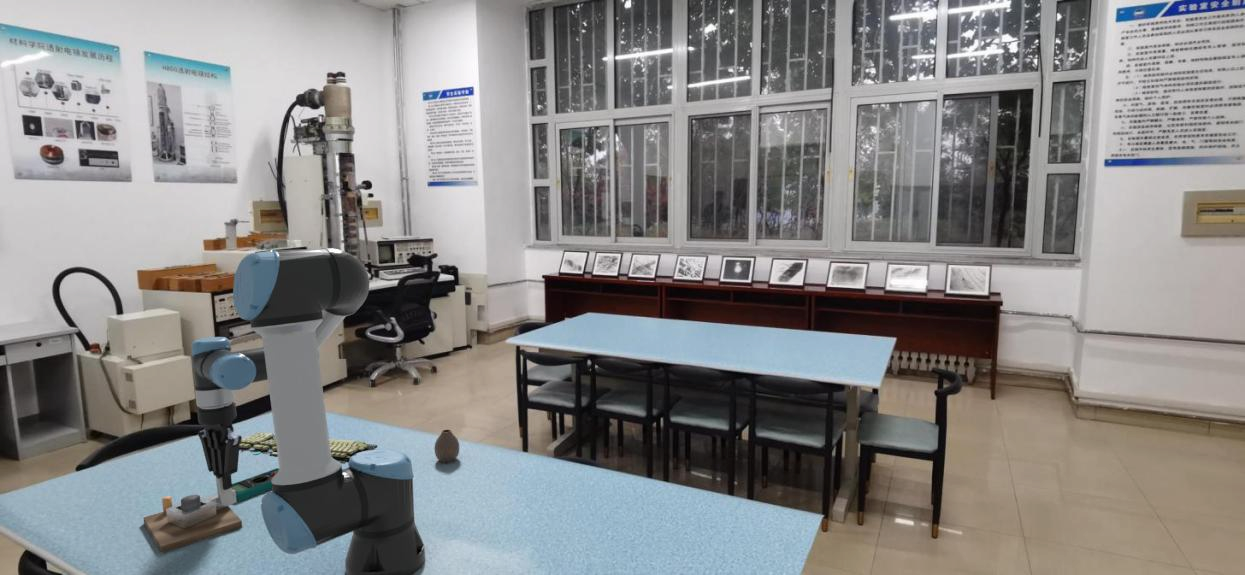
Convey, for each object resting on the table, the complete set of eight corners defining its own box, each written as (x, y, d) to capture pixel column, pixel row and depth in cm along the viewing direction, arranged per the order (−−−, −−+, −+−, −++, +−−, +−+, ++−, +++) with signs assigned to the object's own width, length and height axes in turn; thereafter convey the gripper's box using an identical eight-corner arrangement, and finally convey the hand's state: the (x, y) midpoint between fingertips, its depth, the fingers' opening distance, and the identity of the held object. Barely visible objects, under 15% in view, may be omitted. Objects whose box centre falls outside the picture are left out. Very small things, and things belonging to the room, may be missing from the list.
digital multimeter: (295, 482, 167) (295, 471, 166) (237, 504, 154) (236, 492, 154) (280, 476, 170) (279, 465, 170) (222, 497, 158) (221, 486, 158)
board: (242, 526, 142) (239, 499, 141) (161, 553, 131) (158, 524, 131) (219, 501, 154) (217, 476, 154) (144, 523, 144) (141, 496, 143)
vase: (433, 457, 182) (432, 428, 181) (457, 453, 185) (456, 425, 184) (436, 466, 176) (435, 436, 174) (461, 462, 178) (460, 432, 177)
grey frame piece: (185, 528, 138) (183, 515, 138) (167, 521, 141) (166, 509, 141) (242, 504, 150) (241, 492, 149) (224, 498, 153) (223, 486, 152)
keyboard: (378, 449, 190) (378, 441, 190) (346, 469, 176) (345, 460, 176) (255, 435, 201) (254, 428, 201) (215, 453, 187) (215, 445, 186)
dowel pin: (173, 512, 146) (172, 497, 146) (164, 514, 145) (163, 500, 144) (171, 509, 147) (170, 495, 147) (162, 512, 146) (161, 497, 146)
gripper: (249, 403, 145) (258, 499, 148) (216, 396, 151) (225, 489, 154) (216, 412, 139) (226, 513, 142) (182, 405, 144) (193, 502, 147)
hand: (225, 501), depth 148 cm, fingers closed
